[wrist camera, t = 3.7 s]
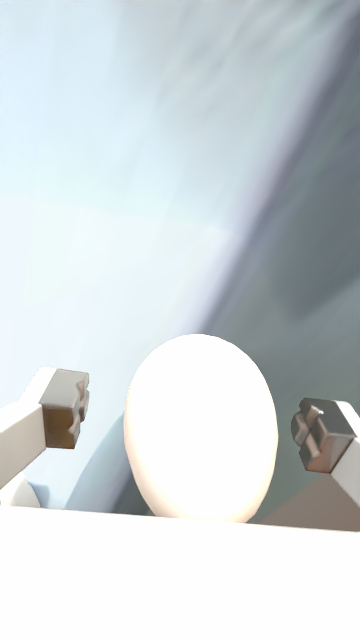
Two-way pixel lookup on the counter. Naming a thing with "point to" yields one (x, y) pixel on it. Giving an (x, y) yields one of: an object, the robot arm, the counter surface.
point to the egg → (201, 431)
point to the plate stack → (19, 493)
